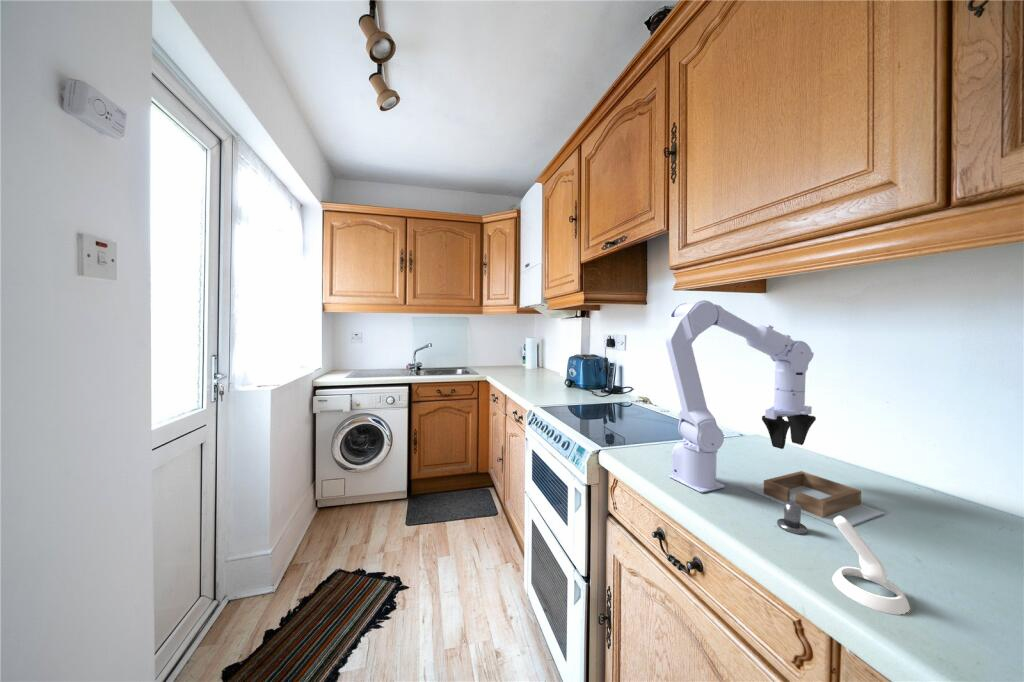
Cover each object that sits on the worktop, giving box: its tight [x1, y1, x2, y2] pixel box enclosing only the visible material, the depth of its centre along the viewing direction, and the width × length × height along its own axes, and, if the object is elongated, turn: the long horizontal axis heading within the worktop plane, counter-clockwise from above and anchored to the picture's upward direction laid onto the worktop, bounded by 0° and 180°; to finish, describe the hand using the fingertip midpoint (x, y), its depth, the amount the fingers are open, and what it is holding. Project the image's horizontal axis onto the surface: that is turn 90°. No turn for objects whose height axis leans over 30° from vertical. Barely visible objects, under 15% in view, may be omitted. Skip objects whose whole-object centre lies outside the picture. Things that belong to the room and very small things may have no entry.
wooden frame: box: [763, 470, 862, 518], centre depth 75 cm, size 11×14×3 cm
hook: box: [831, 515, 911, 616], centre depth 50 cm, size 8×12×7 cm
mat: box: [745, 482, 885, 529], centre depth 75 cm, size 18×15×1 cm
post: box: [776, 501, 808, 535], centre depth 65 cm, size 4×4×4 cm
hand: (787, 445), depth 83 cm, fingers open, 7 cm apart
